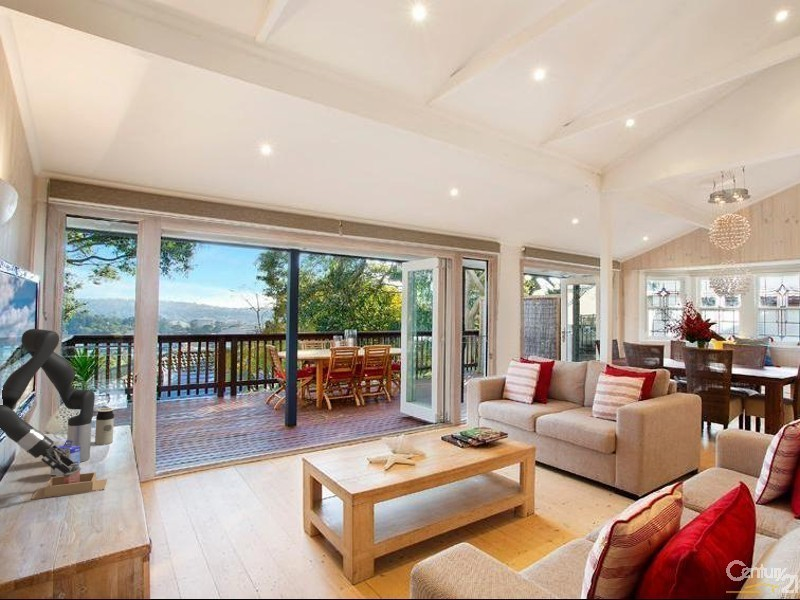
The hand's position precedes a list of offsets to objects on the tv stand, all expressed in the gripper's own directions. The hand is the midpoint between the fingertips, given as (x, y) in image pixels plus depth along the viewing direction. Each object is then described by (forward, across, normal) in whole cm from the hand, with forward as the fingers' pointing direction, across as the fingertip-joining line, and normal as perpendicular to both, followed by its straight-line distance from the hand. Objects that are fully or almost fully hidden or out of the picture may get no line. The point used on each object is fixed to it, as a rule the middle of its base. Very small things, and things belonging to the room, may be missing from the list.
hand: (69, 468), depth 178 cm
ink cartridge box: (+3, +20, +9) cm, 22 cm away
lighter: (+7, 0, +6) cm, 9 cm away
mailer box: (+7, +2, +6) cm, 9 cm away
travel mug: (+10, +66, +2) cm, 66 cm away
